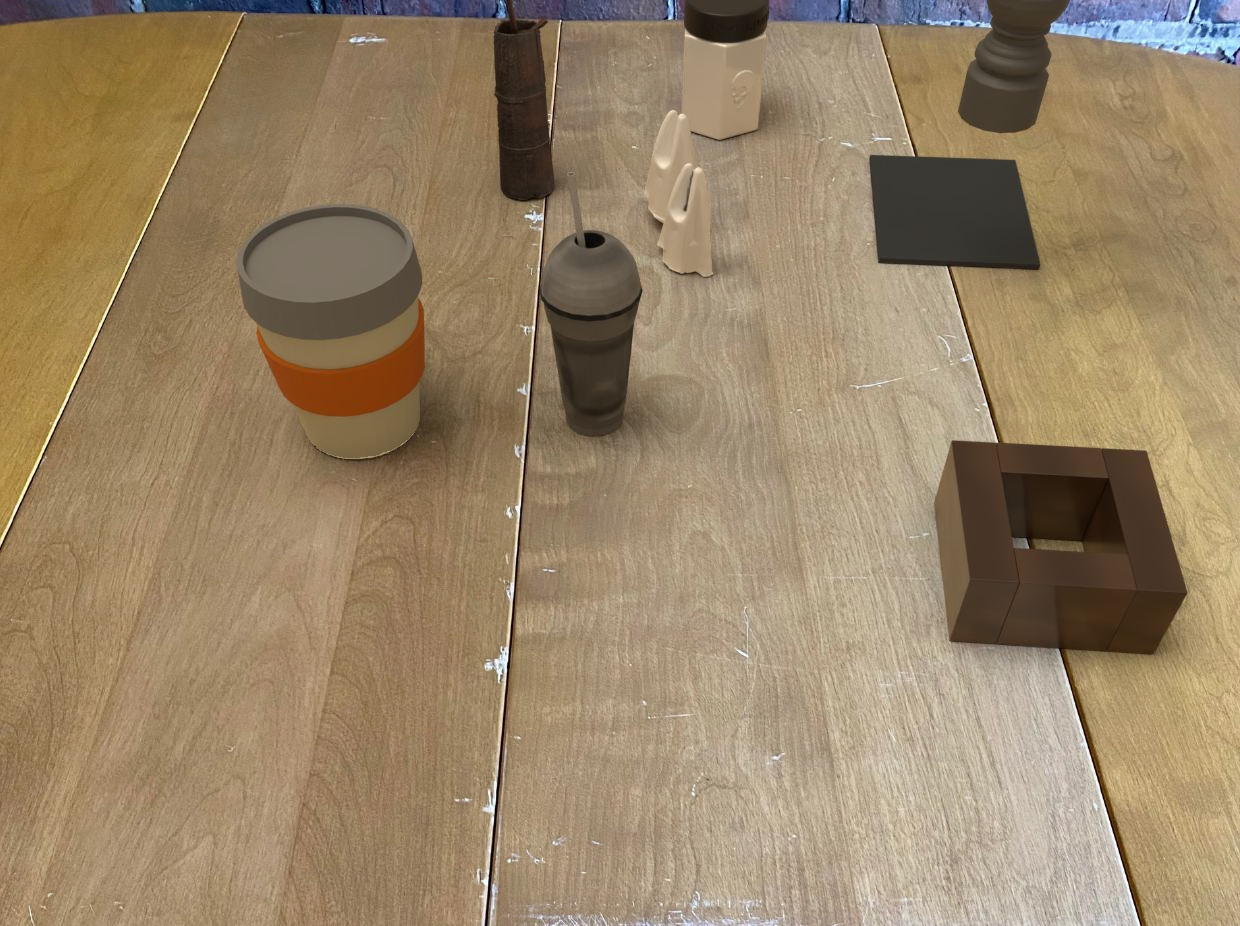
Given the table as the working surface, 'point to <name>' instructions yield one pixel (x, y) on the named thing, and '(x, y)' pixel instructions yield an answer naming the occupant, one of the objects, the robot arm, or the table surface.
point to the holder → (1051, 579)
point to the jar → (723, 65)
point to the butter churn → (522, 109)
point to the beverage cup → (591, 323)
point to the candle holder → (1010, 66)
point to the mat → (951, 212)
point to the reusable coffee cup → (340, 323)
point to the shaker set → (680, 199)
